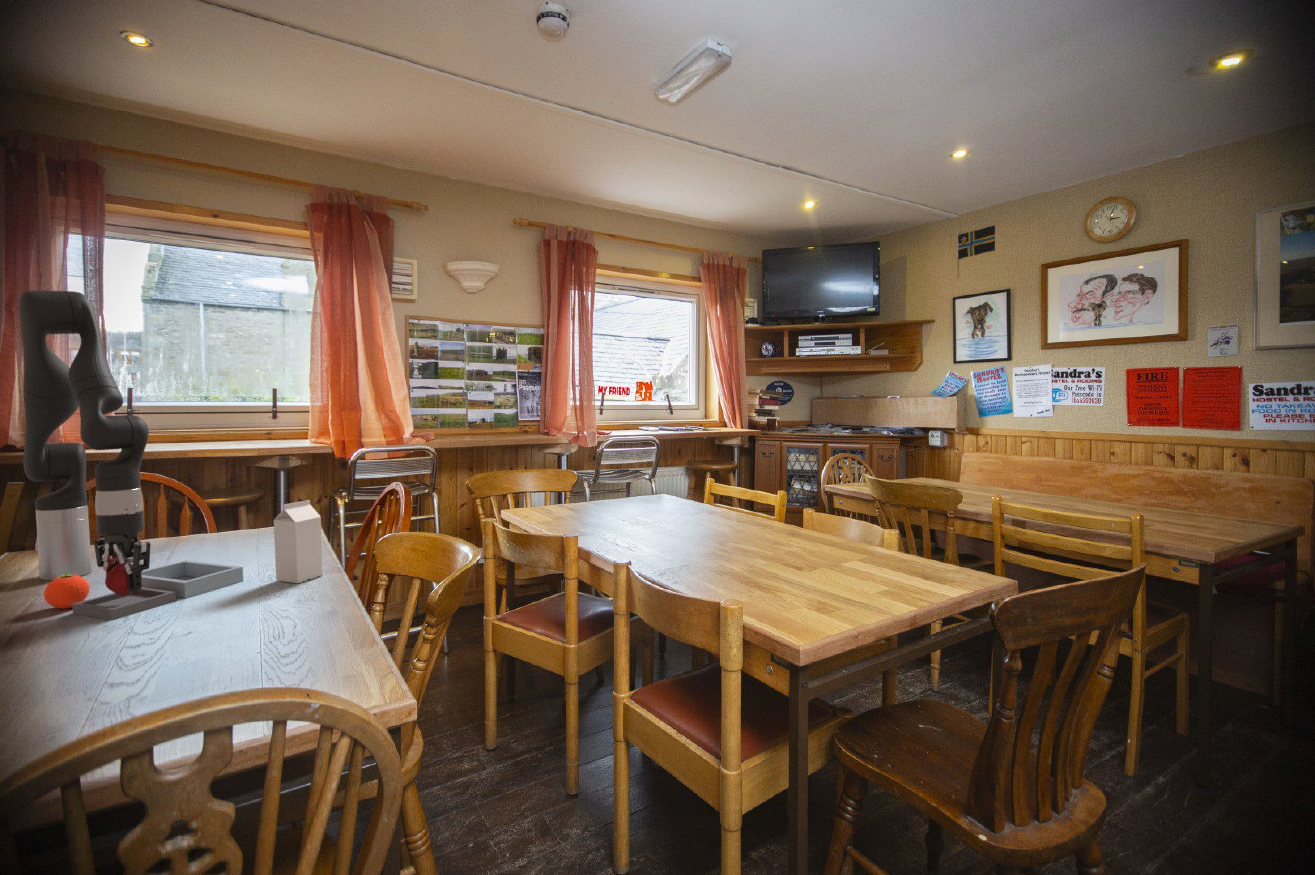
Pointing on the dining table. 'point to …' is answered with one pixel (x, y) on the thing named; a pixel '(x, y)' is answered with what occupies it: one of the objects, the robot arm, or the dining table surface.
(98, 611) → the tray
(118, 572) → the onion
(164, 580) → the shallow gray box
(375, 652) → the dining table surface
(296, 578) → the milk carton
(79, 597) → the clementine
